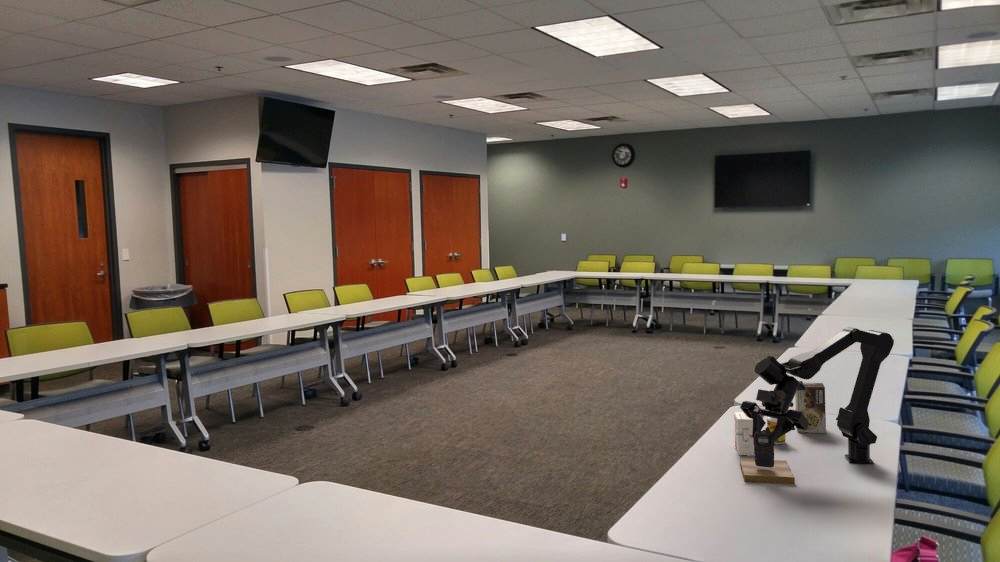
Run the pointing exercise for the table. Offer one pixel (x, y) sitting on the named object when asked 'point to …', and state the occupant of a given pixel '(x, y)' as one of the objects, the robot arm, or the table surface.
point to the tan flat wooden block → (767, 472)
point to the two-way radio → (763, 446)
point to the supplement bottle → (771, 424)
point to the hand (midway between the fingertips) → (761, 439)
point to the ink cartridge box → (743, 434)
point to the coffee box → (812, 407)
